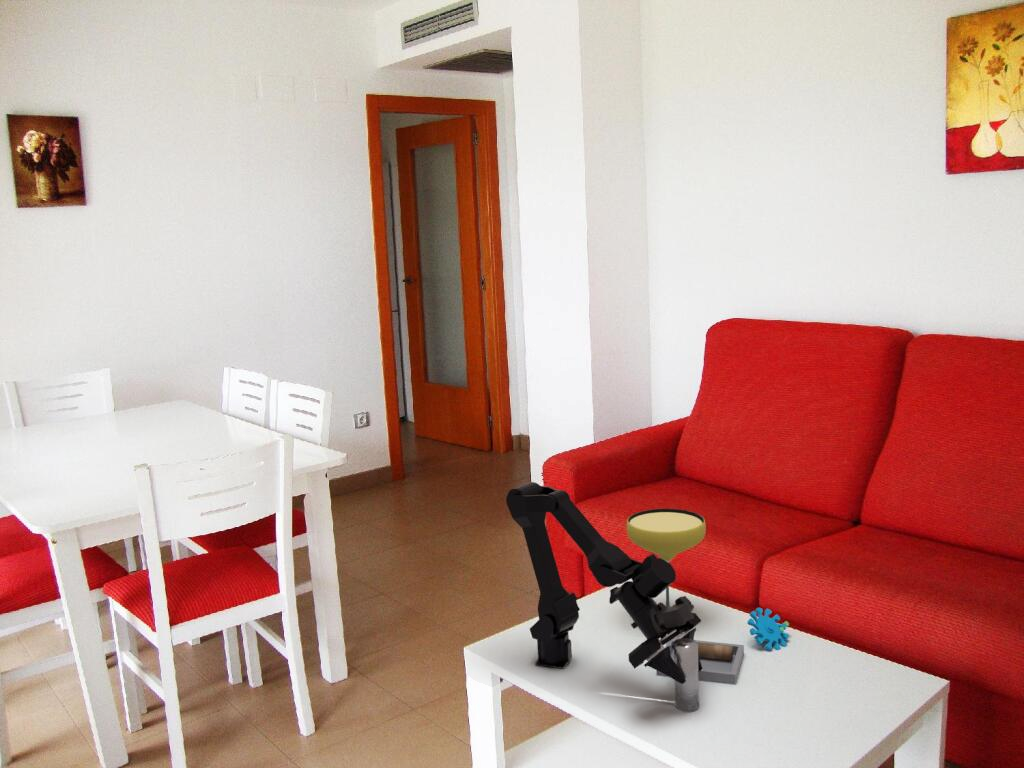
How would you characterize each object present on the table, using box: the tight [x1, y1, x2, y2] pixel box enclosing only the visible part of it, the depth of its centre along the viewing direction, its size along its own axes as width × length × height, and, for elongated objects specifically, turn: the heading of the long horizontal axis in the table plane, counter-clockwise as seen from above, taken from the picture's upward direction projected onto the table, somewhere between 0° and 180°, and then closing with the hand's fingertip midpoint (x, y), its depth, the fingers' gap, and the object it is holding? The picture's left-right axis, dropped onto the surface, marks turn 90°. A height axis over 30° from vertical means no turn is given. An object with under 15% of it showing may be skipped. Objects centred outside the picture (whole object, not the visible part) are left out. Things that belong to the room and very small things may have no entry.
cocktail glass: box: [626, 508, 707, 608], centre depth 222 cm, size 18×18×25 cm
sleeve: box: [674, 638, 700, 713], centre depth 184 cm, size 5×5×13 cm
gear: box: [746, 607, 790, 651], centre depth 210 cm, size 11×6×10 cm
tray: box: [656, 639, 745, 685], centre depth 201 cm, size 16×14×3 cm
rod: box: [698, 643, 733, 661], centre depth 203 cm, size 7×3×3 cm, turn 70°
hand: (692, 676), depth 183 cm, fingers open, 6 cm apart
